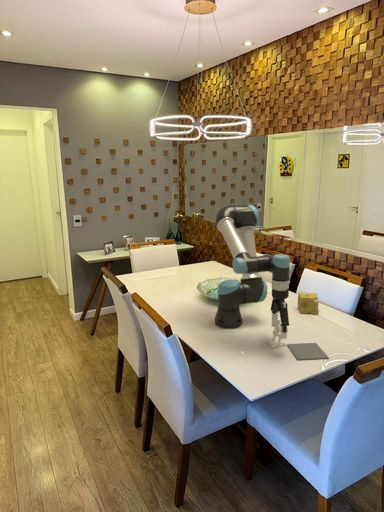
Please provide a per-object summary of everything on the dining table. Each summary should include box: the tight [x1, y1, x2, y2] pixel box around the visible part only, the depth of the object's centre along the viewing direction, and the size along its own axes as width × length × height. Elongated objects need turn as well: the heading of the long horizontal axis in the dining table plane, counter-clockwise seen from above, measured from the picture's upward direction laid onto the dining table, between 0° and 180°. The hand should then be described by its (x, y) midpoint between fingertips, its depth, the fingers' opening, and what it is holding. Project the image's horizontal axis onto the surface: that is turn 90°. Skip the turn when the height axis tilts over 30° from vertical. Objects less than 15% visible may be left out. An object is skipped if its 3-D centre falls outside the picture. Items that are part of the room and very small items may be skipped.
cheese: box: [297, 292, 319, 316], centre depth 206 cm, size 10×11×10 cm
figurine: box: [269, 319, 289, 349], centre depth 165 cm, size 5×9×12 cm, turn 124°
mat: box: [286, 342, 330, 361], centre depth 159 cm, size 14×14×1 cm
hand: (278, 332), depth 165 cm, fingers open, 13 cm apart
